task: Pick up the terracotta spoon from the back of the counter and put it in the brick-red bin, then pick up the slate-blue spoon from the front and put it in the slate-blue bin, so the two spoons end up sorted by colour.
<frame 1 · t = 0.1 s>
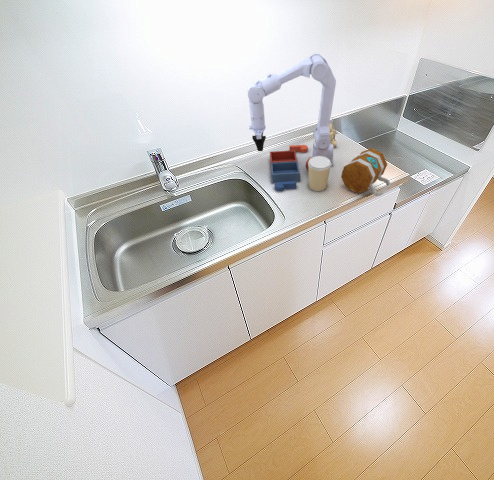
hand: (260, 146, 123), 10 cm above the table, tool pointing down, fingers open, 7 cm apart
apple: (313, 172, 127), on the table
mug: (360, 184, 112), point 6 cm above the table
coffee cup: (317, 186, 120), on the table
terracotta spoon: (298, 150, 139), on the table
blue spoon: (285, 188, 119), on the table
robot: (326, 144, 144), on the table
red bin: (283, 164, 131), on the table
blue bin: (285, 176, 125), on the table
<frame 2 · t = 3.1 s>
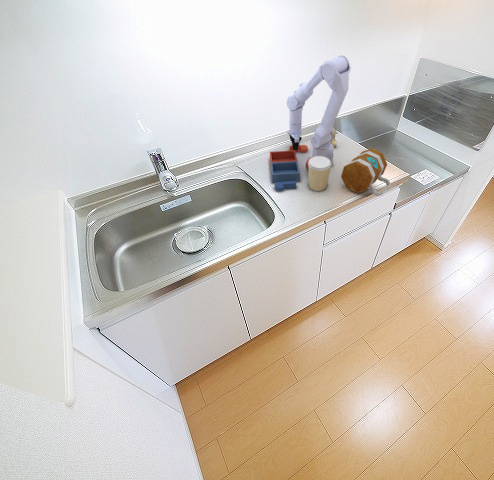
hand: (295, 148, 138), 1 cm above the table, tool pointing down, fingers closed on terracotta spoon
terracotta spoon: (298, 150, 139), on the table, touching gripper
everything else where it was.
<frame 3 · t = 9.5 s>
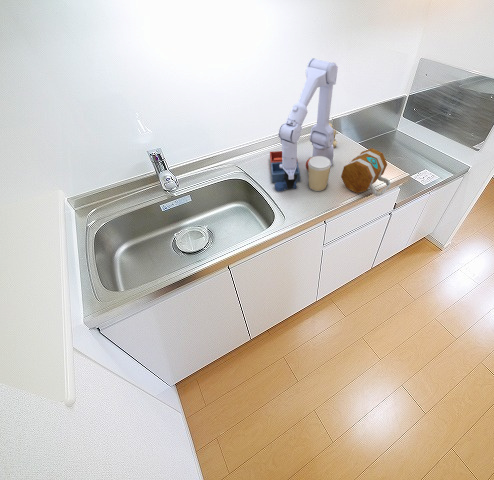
hand: (289, 183, 117), 2 cm above the table, tool pointing down, fingers open, 6 cm apart
terracotta spoon: (283, 163, 131), resting on red bin
everything else where it was.
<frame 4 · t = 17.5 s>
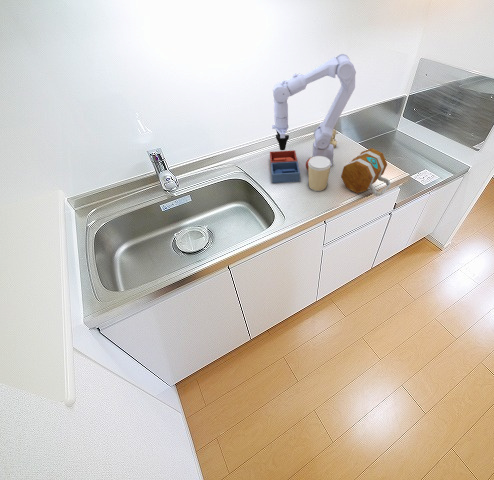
hand: (281, 145, 125), 9 cm above the table, tool pointing down, fingers open, 7 cm apart
blue spoon: (285, 175, 125), resting on blue bin
everything else where it was.
at the end: terracotta spoon inside the target area in the red bin (0.1 cm from its centre), point 0.5 cm above the red bin's base; blue spoon inside the target area in the blue bin (0.0 cm from its centre), point 0.5 cm above the blue bin's base; the gripper is holding nothing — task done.
